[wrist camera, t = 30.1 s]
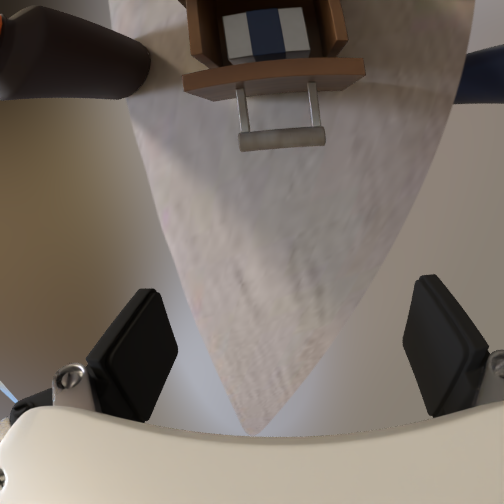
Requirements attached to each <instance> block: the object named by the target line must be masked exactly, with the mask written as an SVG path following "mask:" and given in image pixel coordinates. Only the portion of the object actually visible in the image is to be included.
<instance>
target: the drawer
mask: <svg viewBox="0 0 504 504" xmlns="http://www.w3.org/2000/svg"><path fill="white" fill-rule="evenodd" d="M290 7H302V8H303V13H304V17H305V22H306V27H307V32H308V37H309V42H310V48H311V51H310V54H309V57H308V58H295V59H280V60H269V61H260V62H252V63H244V64H237V65H233V64H232V63H231V62H230V61H229V60H228V56H227V49H226V42H225V35H224V28H223V21H222V16H227V15H232V14H238V13H245V12H246V11H253V10H260V9H269V8H290ZM186 9H187V20H188V30H189V40H190V50H191V56H193V57H194V58H195V59H197V60H198V61H200V62H201V63H203V64H204V65H205V66H207V67H208V68H209V69H208V70H204V71H199V72H194V73H190V74H185V75H182V82H183V91H184V92H186V93H189V94H192V95H195V96H199V97H202V98H205V99H207V100H210V101H213V102H214V101H220V100H227V99H233V98H237V104H238V112H239V120H240V128H241V133H239V135H238V141H239V148H240V151H241V152H246V151H255V150H266V149H277V148H290V147H306V146H324V145H325V143H326V138H325V130H324V127H320V126H321V122H320V112H319V103H318V95H317V91H342V90H344V89H345V88H347V87H349V86H350V85H352V84H353V83H355V82H356V81H358V80H359V79H361V78H362V77H364V76H366V73H365V66H364V60H363V58H336V57H337V55H338V54H339V53H340V51H341V50H342V49H343V47H344V46H345V44H346V43H347V42H348V35H347V30H346V25H345V20H344V16H343V11H342V7H341V3H340V0H186ZM305 91H308V96H309V105H310V114H311V123H312V127H301V128H286V129H274V130H263V131H254V132H250V125H249V117H248V109H247V101H246V97H248V96H256V95H265V94H276V93H288V92H305Z"/></svg>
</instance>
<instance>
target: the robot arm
mask: <svg viewBox="0 0 504 504" xmlns="http://www.w3.org/2000/svg"><path fill="white" fill-rule="evenodd" d="M403 347H404V350H405V352H406V355H407V357H408V360H409V362H410V365H411V367H412V370H413V373H414V375H415V378H416V380H417V383H418V386H419V389H420V392H421V394H422V397H423V400H424V403H425V406H426V409H427V412H428V414H429V415H430V416H433V418H432V419H428V420H424V421H419V422H415V423H410V424H405V425H401V426H395V427H390V428H385V429H379V430H372V431H364V432H356V433H348V434H337V435H326V436H310V437H309V436H308V437H250V436H232V435H221V434H210V433H201V432H193V431H186V430H179V429H173V428H167V427H161V426H156V425H151V424H146V423H145V421H148V420H149V418H150V416H151V414H152V412H153V409H154V407H155V405H156V402H157V400H158V397H159V395H160V393H161V391H162V388H163V386H164V384H165V381H166V379H167V377H168V375H169V373H170V370H171V368H172V366H173V363H174V361H175V359H176V357H177V354H178V346H177V343H176V340H175V337H174V334H173V332H172V328H171V326H170V323H169V319H168V317H167V313H166V310H165V307H164V304H163V301H162V297H161V295H160V293H158V292H156V290H155V289H139V290H138V291H137V292H136V294H135V295H134V296H133V297H132V299H131V300H130V301H129V302H128V303H127V305H126V306H125V307H124V309H123V310H122V311H121V312H120V314H119V315H118V316H117V318H116V319H115V320H114V321H113V323H112V324H111V325H110V327H109V328H108V329H107V330H106V332H105V333H104V334H103V336H102V337H101V338H100V340H99V341H98V342H97V344H96V345H95V346H94V348H93V349H92V351H91V352H90V353H89V355H88V356H87V357H86V361H87V362H88V365H87V366H86V367H85V366H84V365H83V364H80V363H71V364H67V365H65V366H63V367H62V368H60V369H59V370H58V371H57V372H56V374H55V375H54V377H53V381H52V388H50V389H47V390H45V391H42V392H40V393H37V394H35V395H33V396H30V397H27V398H25V399H22V400H20V401H18V402H17V403H16V404H15V405H14V407H13V408H12V410H11V413H10V419H9V418H8V417H6V418H4V419H3V420H1V421H0V504H504V350H496V351H494V352H492V353H491V354H490V353H489V352H488V348H489V345H488V344H487V342H486V341H485V339H484V338H483V336H482V335H481V333H480V332H479V330H478V329H477V328H476V326H475V325H474V323H473V322H472V320H471V319H470V318H469V316H468V315H467V314H466V312H465V311H464V310H463V308H462V307H461V306H460V304H459V303H458V302H457V300H456V299H455V298H454V297H453V295H452V294H451V293H450V292H449V290H448V289H447V288H446V286H445V285H444V284H443V283H442V281H441V280H440V279H439V278H438V277H437V275H435V274H433V275H422V276H420V278H419V280H417V281H416V282H415V285H414V291H413V296H412V301H411V306H410V310H409V315H408V319H407V324H406V327H405V331H404V336H403Z"/></svg>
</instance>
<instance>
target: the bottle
mask: <svg viewBox="0 0 504 504" xmlns="http://www.w3.org/2000/svg"><path fill="white" fill-rule="evenodd" d="M149 67H150V58H149V54H148V52H147V50H146V48H145V47H144V46H143V45H142V44H141V43H140V42H138V41H135V40H133V39H131V38H129V37H127V36H124V35H122V34H120V33H117V32H115V31H113V30H110V29H108V28H105V27H102V26H100V25H98V24H95V23H92V22H90V21H87V20H84V19H82V18H79V17H76V16H73V15H70V14H67V13H64V12H60V11H57V10H54V9H50V8H47V7H43V6H29V7H27V8H25V9H23V10H21V11H19V12H18V13H16V14H15V15H13V16H12V17H10V18H9V19H7V18H6V16H5V15H4V14H0V100H14V99H29V98H96V99H116V100H117V99H122V98H125V97H128V96H130V95H131V94H132V93H134V92H135V91H137V90H138V88H139V87H140V86H141V85H142V84H143V82H144V80H145V78H146V77H147V75H148V71H149Z"/></svg>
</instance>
